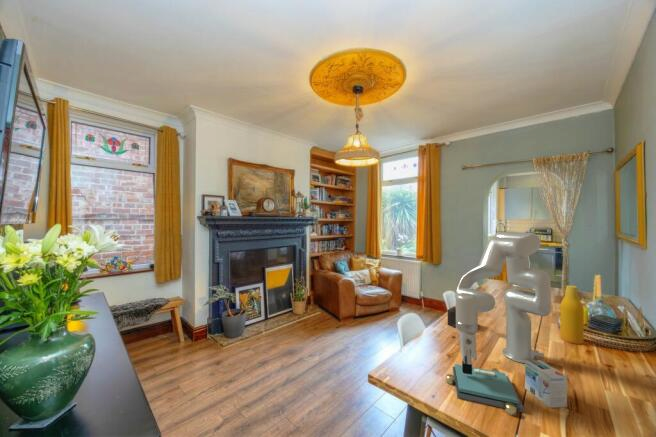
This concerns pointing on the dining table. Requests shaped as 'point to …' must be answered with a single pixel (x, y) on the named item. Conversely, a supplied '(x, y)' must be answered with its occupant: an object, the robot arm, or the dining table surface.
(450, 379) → the base
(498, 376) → the plate
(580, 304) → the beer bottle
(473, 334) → the robot arm
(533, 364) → the light bulb box
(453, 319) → the black box
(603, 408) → the dining table surface
